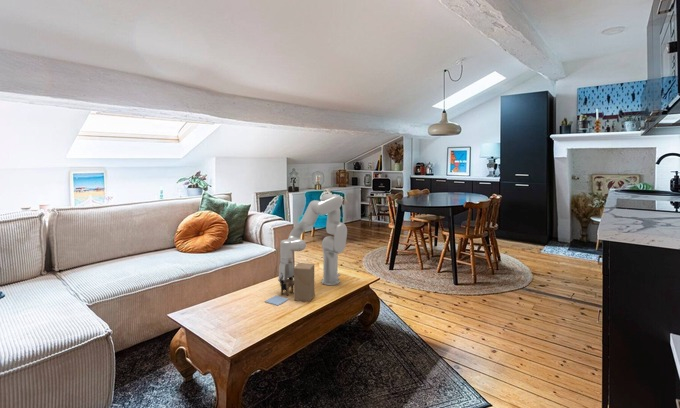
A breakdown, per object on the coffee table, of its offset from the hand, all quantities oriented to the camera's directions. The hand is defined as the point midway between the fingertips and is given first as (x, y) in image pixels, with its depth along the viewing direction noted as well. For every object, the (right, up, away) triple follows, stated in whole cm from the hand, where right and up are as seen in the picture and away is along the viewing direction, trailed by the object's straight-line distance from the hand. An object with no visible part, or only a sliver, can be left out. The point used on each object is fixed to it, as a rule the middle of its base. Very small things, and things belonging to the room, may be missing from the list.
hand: (287, 287), depth 215 cm
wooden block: (+11, -5, -6) cm, 14 cm away
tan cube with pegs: (0, -4, 0) cm, 4 cm away
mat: (-4, -5, -11) cm, 13 cm away
